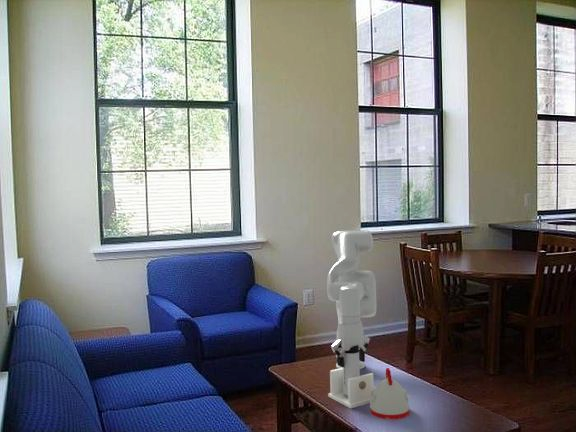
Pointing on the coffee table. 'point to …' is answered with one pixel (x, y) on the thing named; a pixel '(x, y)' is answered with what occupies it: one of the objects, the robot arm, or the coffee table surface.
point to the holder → (351, 389)
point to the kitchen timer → (389, 399)
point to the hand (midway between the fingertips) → (351, 363)
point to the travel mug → (350, 367)
